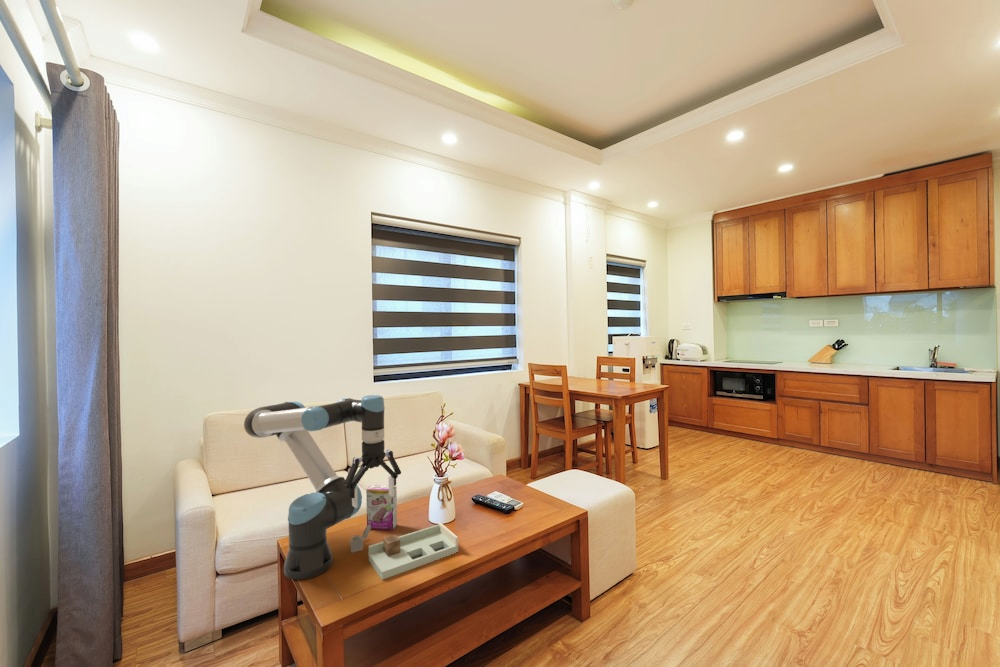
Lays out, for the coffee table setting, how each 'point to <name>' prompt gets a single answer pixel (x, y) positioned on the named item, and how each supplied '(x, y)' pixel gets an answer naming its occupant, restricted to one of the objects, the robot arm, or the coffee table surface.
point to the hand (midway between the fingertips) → (373, 500)
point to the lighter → (359, 540)
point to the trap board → (414, 550)
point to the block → (391, 545)
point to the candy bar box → (381, 507)
